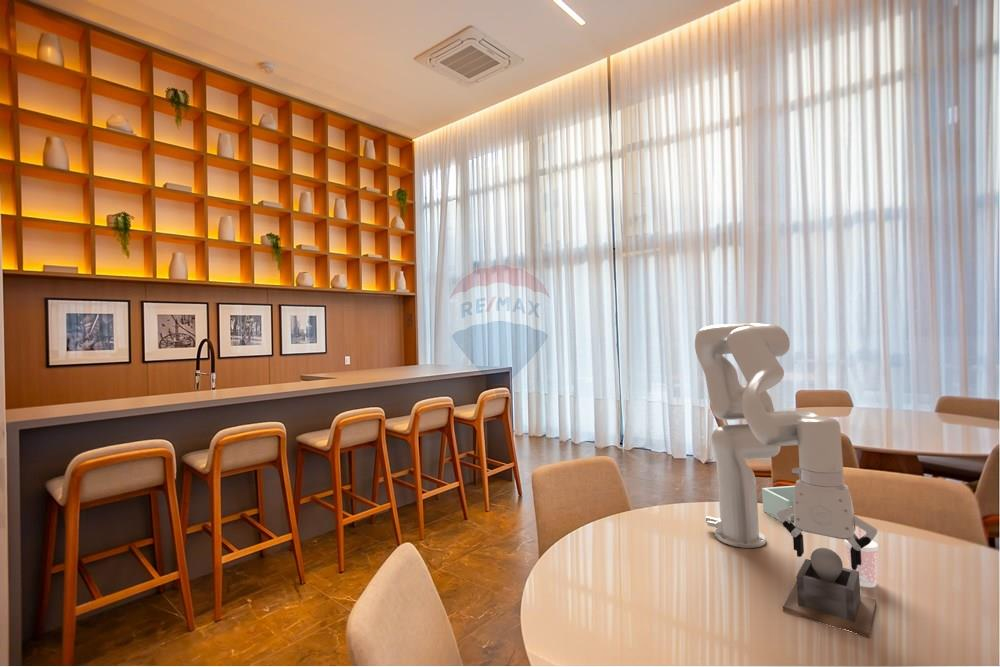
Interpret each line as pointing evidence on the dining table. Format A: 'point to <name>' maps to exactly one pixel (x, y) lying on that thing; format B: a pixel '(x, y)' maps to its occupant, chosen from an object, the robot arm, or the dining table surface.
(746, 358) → the robot arm
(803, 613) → the socket block
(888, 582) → the dining table surface
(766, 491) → the l-shaped corner panel
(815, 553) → the light bulb
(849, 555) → the beverage cup
